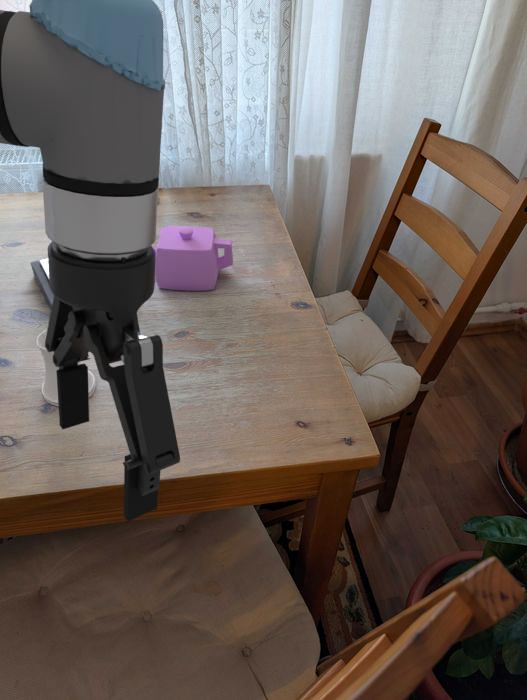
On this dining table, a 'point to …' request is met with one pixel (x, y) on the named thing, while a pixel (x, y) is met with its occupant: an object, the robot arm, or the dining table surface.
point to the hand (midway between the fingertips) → (104, 464)
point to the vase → (55, 374)
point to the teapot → (190, 258)
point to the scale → (43, 279)
